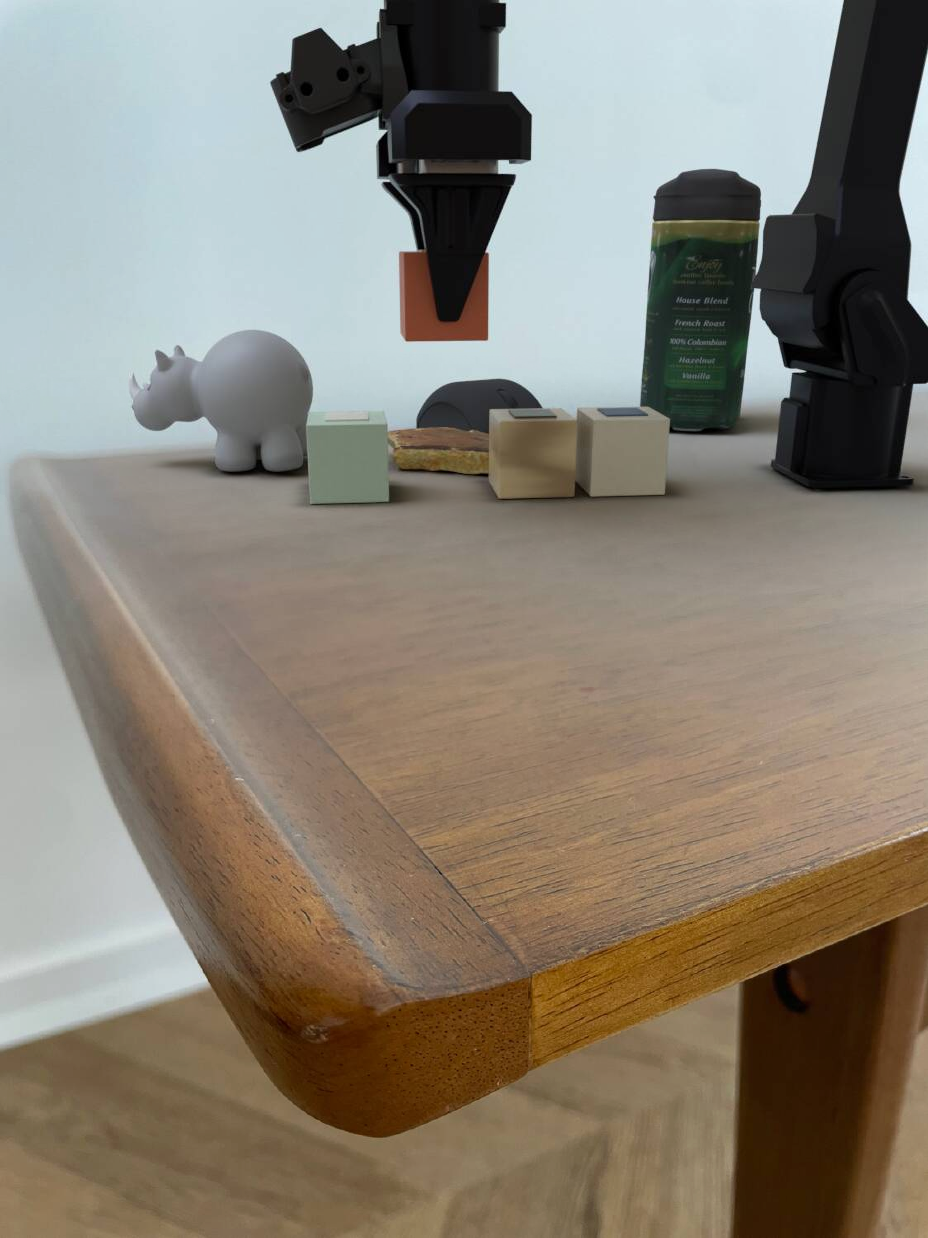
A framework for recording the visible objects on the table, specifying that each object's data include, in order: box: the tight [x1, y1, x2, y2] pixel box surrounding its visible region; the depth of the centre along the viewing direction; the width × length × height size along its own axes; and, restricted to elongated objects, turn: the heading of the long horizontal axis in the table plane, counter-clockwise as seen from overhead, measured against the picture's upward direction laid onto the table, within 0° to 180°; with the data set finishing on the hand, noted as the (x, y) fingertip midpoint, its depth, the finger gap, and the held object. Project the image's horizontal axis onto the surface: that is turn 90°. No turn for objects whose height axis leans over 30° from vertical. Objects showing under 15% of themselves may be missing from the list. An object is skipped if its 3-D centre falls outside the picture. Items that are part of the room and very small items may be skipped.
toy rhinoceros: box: [128, 329, 314, 473], centre depth 66 cm, size 7×12×8 cm, turn 82°
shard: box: [388, 427, 489, 475], centre depth 66 cm, size 11×8×2 cm
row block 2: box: [488, 407, 577, 500], centre depth 60 cm, size 4×4×4 cm
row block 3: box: [575, 406, 671, 498], centre depth 61 cm, size 4×4×4 cm
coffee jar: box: [639, 168, 762, 432], centre depth 79 cm, size 10×8×19 cm
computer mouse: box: [415, 378, 543, 434], centre depth 77 cm, size 6×11×4 cm, turn 30°
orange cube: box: [398, 250, 490, 343], centre depth 56 cm, size 4×4×4 cm
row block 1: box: [306, 410, 390, 505], centre depth 59 cm, size 4×4×4 cm
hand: (443, 317), depth 56 cm, fingers closed on orange cube, 4 cm apart
